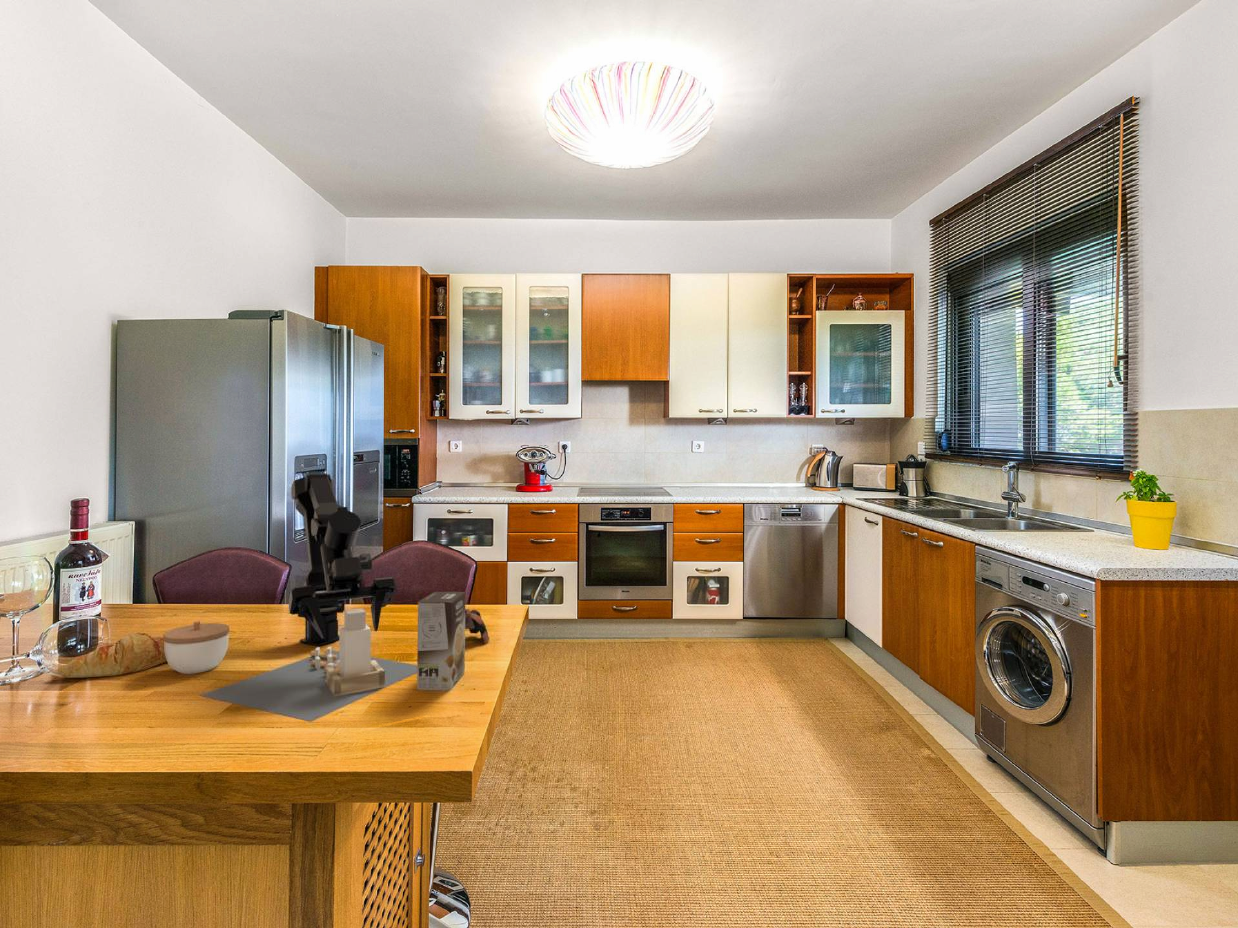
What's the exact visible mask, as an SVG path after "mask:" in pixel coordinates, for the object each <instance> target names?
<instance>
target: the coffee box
mask: <svg viewBox="0 0 1238 928" xmlns="http://www.w3.org/2000/svg"><path fill="white" fill-rule="evenodd" d="M465 609H466V591H433V592H432V593H430V594H428V595H427V596H425V597H423V598H422V599H420V600H417V648H416V649H417V658H416V659H417V662H416V663H417V664H416V665H417V673H416V675H417V677H416V679H417V681H416V690H418V691H452V690H453V688H454V687H455V686H456V685H457V684H458V682H459V681H460V680H461V679H462V678H463V676H464V675H465V674H466V673H465V672H466V671H465V668H466V667H465V666H466V629H465Z"/></svg>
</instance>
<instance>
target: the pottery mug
mask: <svg viewBox="0 0 1238 928" xmlns="http://www.w3.org/2000/svg"><path fill="white" fill-rule="evenodd" d="M481 615H482V614H481V613H480V612H479V610H477V609H472V610H470V609H469V608H465V630H469V634H475V635H476V634H479V635H480V638H481V639H483V644H484V645H487V644H488V643H489V640H490V637H489V632H488V629H487V626H486V624H485V622H484V620H483V619H482V616H481Z"/></svg>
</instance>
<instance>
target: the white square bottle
mask: <svg viewBox="0 0 1238 928" xmlns="http://www.w3.org/2000/svg"><path fill="white" fill-rule="evenodd" d="M343 614H344V616H343V617H344V620H343V621H344V623H343V624H344V625H342V626H339V635H340V636H339V677H345V676H351V675H356V674H362V673H368V672H371V657H372V640H371V639H372V636H371V635H372V630H371V628H370V627H369V625H368V624H367V621H366V620H367V612H366V611H365V609H363V608H361V607H360V608H355V609H354V608H353V609H348V610H346V609H345V611H343Z"/></svg>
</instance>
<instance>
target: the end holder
mask: <svg viewBox="0 0 1238 928" xmlns="http://www.w3.org/2000/svg"><path fill="white" fill-rule="evenodd" d="M326 683H327V685H328V686H329V688H330V690H331V691H332V693H333V694H334V696H339V695H345V694H350V693H355V692H361V691H366V690H371V689H376V688H382V687H385V671H384V670H383V669H382V667H381V666H380V665H379V664H378V663H377V662H376V661H375V660H372V661H371V672H368V673H362V674H356V675H351V676H345V677H339V676H338V674H337V673H336V671H335V670H334V668H333V667H330V668H327V680H326ZM385 688H386V687H385Z"/></svg>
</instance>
